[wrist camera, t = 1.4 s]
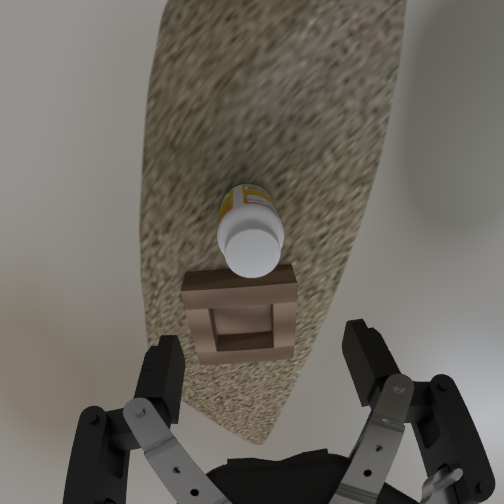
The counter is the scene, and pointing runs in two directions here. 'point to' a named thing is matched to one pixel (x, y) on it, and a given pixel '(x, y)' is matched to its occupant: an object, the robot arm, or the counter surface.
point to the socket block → (241, 315)
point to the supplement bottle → (250, 231)
